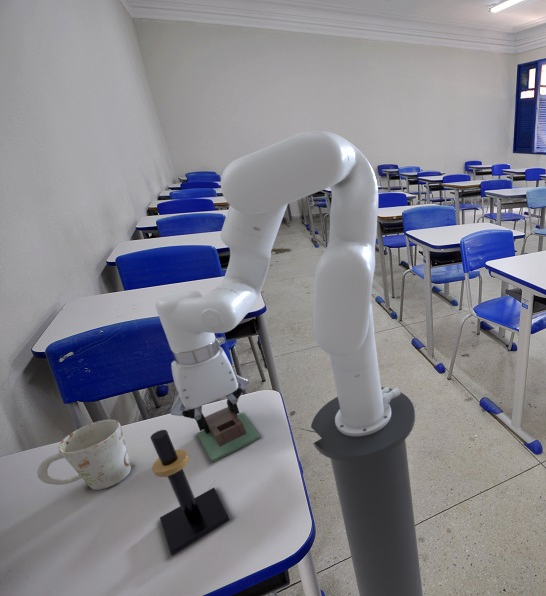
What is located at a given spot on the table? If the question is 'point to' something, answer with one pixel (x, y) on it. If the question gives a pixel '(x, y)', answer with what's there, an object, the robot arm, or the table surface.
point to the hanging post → (184, 498)
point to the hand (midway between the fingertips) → (220, 423)
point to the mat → (219, 452)
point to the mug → (92, 456)
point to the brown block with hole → (225, 426)
